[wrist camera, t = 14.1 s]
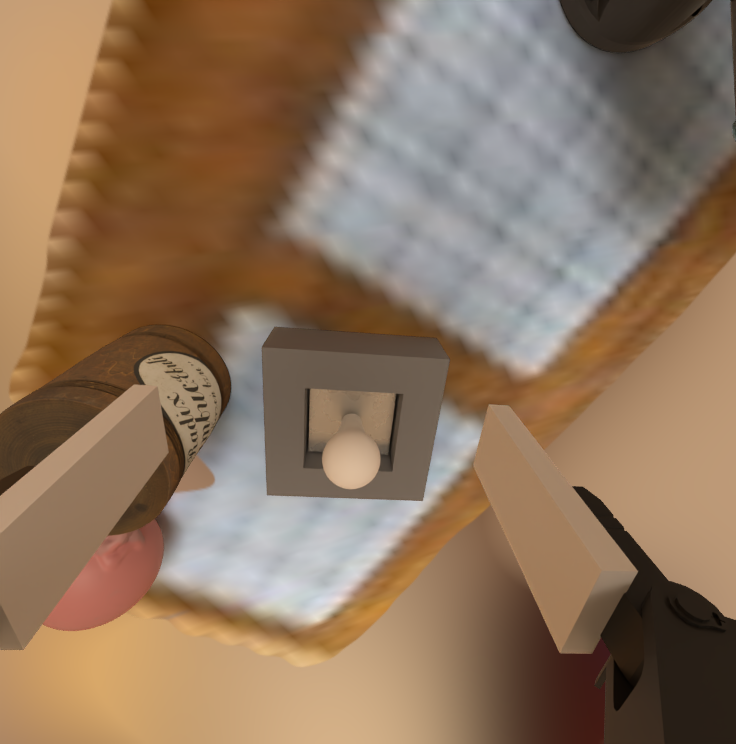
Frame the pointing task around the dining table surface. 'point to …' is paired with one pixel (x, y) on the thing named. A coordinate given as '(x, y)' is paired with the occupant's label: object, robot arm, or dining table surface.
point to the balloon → (111, 580)
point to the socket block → (350, 373)
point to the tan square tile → (338, 403)
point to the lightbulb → (351, 455)
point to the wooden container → (108, 382)
